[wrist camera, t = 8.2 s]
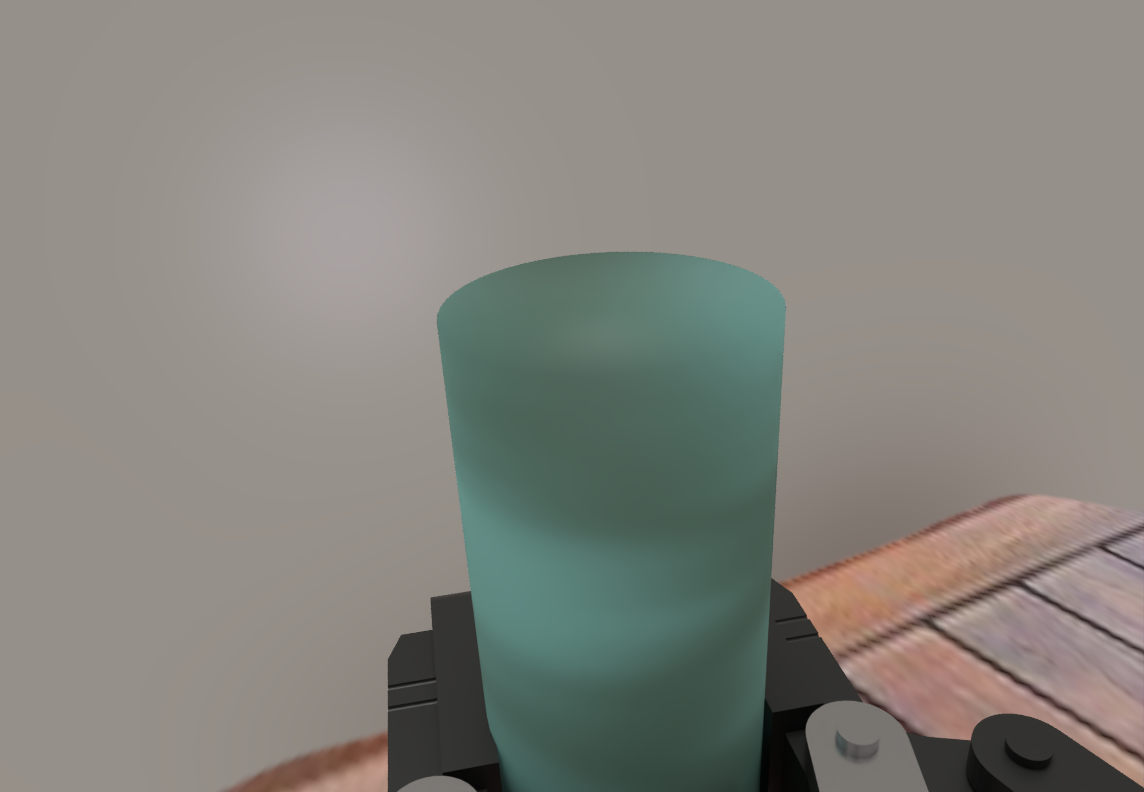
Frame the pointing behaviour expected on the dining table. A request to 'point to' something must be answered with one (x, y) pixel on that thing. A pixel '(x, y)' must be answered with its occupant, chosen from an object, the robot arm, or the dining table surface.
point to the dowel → (619, 514)
